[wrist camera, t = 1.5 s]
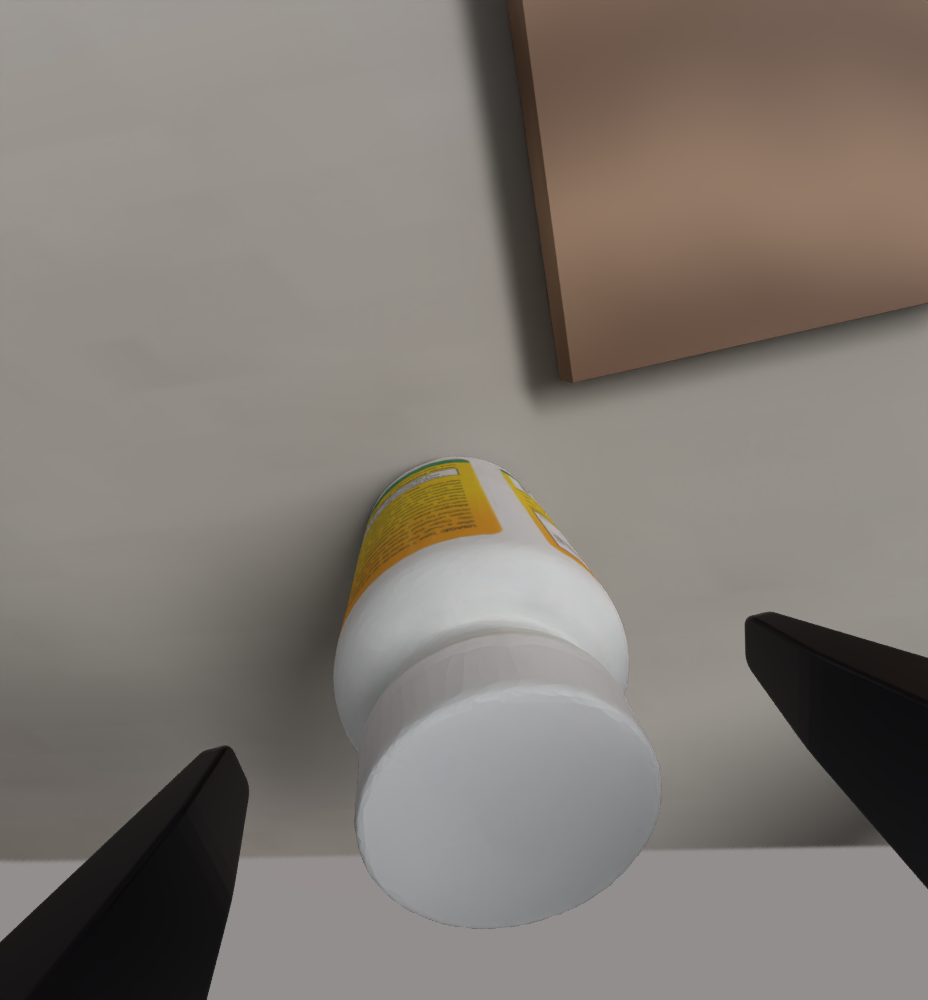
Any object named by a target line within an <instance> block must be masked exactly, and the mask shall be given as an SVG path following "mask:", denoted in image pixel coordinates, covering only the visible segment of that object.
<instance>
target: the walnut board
mask: <svg viewBox="0 0 928 1000" xmlns="http://www.w3.org/2000/svg"><path fill="white" fill-rule="evenodd" d="M507 7H508V14H509V21H510V28H511V35H512V43H513V50H514V57H515V64H516V71H517V78H518V85H519V92H520V99H521V107H522V114H523V121H524V128H525V135H526V142H527V149H528V156H529V163H530V171H531V178H532V185H533V192H534V199H535V206H536V213H537V220H538V228H539V235H540V242H541V249H542V256H543V263H544V270H545V277H546V284H547V292H548V299H549V306H550V313H551V320H552V327H553V334H554V341H555V348H556V356H557V363H558V370H559V377H560V379H561V380H564V381H568V382H572V383H574V382H579V381H583V380H587V379H592V378H596V377H601V376H605V375H610V374H614V373H618V372H623V371H627V370H632V369H636V368H641V367H645V366H649V365H654V364H658V363H663V362H667V361H672V360H676V359H680V358H685V357H689V356H694V355H698V354H703V353H707V352H711V351H716V350H720V349H725V348H729V347H734V346H738V345H743V344H747V343H751V342H756V341H760V340H765V339H769V338H774V337H778V336H782V335H787V334H791V333H796V332H800V331H805V330H809V329H813V328H818V327H822V326H827V325H831V324H836V323H840V322H844V321H849V320H853V319H858V318H862V317H867V316H871V315H875V314H880V313H884V312H889V311H893V310H898V309H902V308H907V307H911V306H915V305H920V304H924V303H928V0H507Z"/></svg>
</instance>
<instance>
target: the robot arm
mask: <svg viewBox="0 0 928 1000" xmlns="http://www.w3.org/2000/svg"><path fill="white" fill-rule="evenodd" d="M745 655H746V660H747V663H748V666H749V668H750V670H751V671H752V673H753V674H754V675H755V677H756V678H757V680H758V681H759V682H760V684H761V685H762V687H763V688H764V690H765V691H766V692H767V694H768V695H769V697H770V698H771V699H772V701H773V702H774V704H775V705H776V706H777V708H778V709H779V711H780V712H781V713H782V715H783V716H784V718H785V719H786V720H787V722H788V723H789V725H790V726H791V727H792V729H793V730H794V732H795V733H796V734H797V736H798V737H799V738H800V740H801V741H802V742H803V744H804V745H805V746H806V748H807V749H808V750H809V752H810V753H811V754H812V755H813V756H814V758H815V759H816V760H817V761H818V762H819V764H820V765H821V766H822V767H823V768H824V769H825V771H826V772H827V773H828V774H829V775H830V776H831V777H832V779H833V780H834V781H835V782H836V783H837V784H838V786H839V787H840V788H841V789H842V790H843V791H844V793H845V794H846V795H847V796H848V797H849V798H850V799H851V801H852V802H853V803H854V804H855V805H856V806H857V808H858V809H859V810H860V811H861V812H862V813H863V815H864V816H865V817H866V818H867V819H868V820H869V821H870V823H871V824H872V825H873V826H874V827H875V828H876V830H877V831H878V832H879V833H880V834H881V835H882V837H883V838H884V839H885V840H886V841H887V842H888V844H889V845H890V846H891V847H892V848H893V849H894V850H895V852H896V853H897V854H898V855H899V856H900V857H901V858H902V860H903V861H904V862H905V863H906V864H907V866H908V867H909V868H910V869H911V870H912V871H913V872H914V874H915V875H916V876H917V877H918V878H919V879H920V881H921V882H922V883H923V884H924V885H925V886H926V887H927V889H928V658H927V657H923V656H920V655H917V654H913V653H910V652H906V651H903V650H900V649H896V648H893V647H890V646H886V645H883V644H879V643H876V642H873V641H869V640H866V639H863V638H859V637H856V636H852V635H849V634H846V633H842V632H839V631H835V630H832V629H829V628H825V627H822V626H819V625H815V624H812V623H808V622H805V621H802V620H798V619H795V618H792V617H788V616H785V615H781V614H778V613H775V612H764V613H760V614H756V615H752V616H749V617H748V618H747V619H746V621H745ZM248 799H249V786H248V781H247V779H246V776H245V774H244V772H243V770H242V768H241V766H240V763H239V761H238V759H237V757H236V755H235V753H234V751H233V749H232V748H231V747H229V746H221V747H217V748H213V749H209V750H205V751H203V752H202V753H200V754H199V755H198V756H197V757H196V758H195V759H194V760H193V761H192V762H191V763H190V764H189V765H188V766H187V767H185V768H184V769H183V770H182V771H181V772H180V773H179V774H178V775H177V776H176V777H175V778H174V779H173V780H172V781H171V782H170V783H169V784H167V785H166V786H165V787H164V788H163V789H162V790H161V791H160V792H159V793H158V794H157V795H156V796H155V797H154V798H153V799H152V800H150V801H149V802H148V803H147V804H146V805H145V806H144V807H143V808H142V809H141V810H140V811H139V812H138V813H137V814H136V815H135V816H134V817H132V818H131V819H130V820H129V821H128V822H127V823H126V824H125V825H124V826H123V827H122V828H121V829H120V830H119V831H118V832H117V833H115V834H114V835H113V836H112V837H111V838H110V839H109V840H108V841H107V842H106V843H105V844H104V845H103V846H102V847H101V848H100V849H99V850H97V851H96V852H95V853H94V854H93V855H92V856H91V857H90V858H89V859H88V860H87V861H86V862H85V863H84V864H83V865H82V866H81V867H79V868H78V869H77V870H76V871H75V872H74V873H73V874H72V875H71V876H70V877H69V878H68V879H67V880H66V881H65V882H64V883H63V884H61V885H60V886H59V887H58V888H57V889H56V890H55V891H54V892H53V893H52V894H51V895H50V896H49V897H48V898H47V899H46V900H44V902H42V903H41V904H40V905H39V906H38V907H37V908H36V909H35V910H34V911H33V912H32V913H31V914H30V915H29V916H27V918H25V919H24V920H23V921H22V922H21V923H20V924H19V925H18V926H17V927H16V928H15V929H14V930H13V931H12V932H11V933H10V934H9V935H7V936H6V937H5V938H4V939H3V940H2V941H1V942H0V1000H207V996H208V992H209V988H210V984H211V980H212V976H213V973H214V969H215V965H216V961H217V957H218V953H219V949H220V945H221V941H222V938H223V934H224V930H225V925H226V922H227V918H228V914H229V909H230V905H231V901H232V896H233V891H234V886H235V880H236V874H237V868H238V862H239V855H240V849H241V843H242V836H243V830H244V824H245V818H246V811H247V805H248Z"/></svg>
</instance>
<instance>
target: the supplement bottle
mask: <svg viewBox="0 0 928 1000" xmlns="http://www.w3.org/2000/svg"><path fill="white" fill-rule="evenodd" d="M628 671H629V656H628V647H627V640H626V636H625V632H624V629H623V626H622V622H621V620H620V618H619V615H618V613H617V611H616V609H615V607H614V605H613V603H612V601H611V599H610V598H609V596H608V594H607V593H606V592H605V590H604V589H603V587H602V586H601V585H600V583H599V582H598V580H597V579H596V578H595V576H594V575H593V574H592V572H591V571H590V570H589V568H588V567H587V566H586V564H585V563H584V562H583V561H582V559H581V558H580V557H579V555H578V554H577V553H576V552H575V550H574V549H573V548H572V546H571V545H570V544H569V543H568V541H567V540H566V539H565V537H564V536H563V535H562V533H561V532H560V531H559V530H558V528H557V527H556V526H555V524H554V523H553V522H552V521H551V519H550V518H549V517H548V515H547V514H546V512H545V511H544V510H543V509H542V507H541V506H540V505H539V504H538V502H537V501H536V500H535V498H534V497H533V496H532V495H531V494H530V492H529V491H528V490H527V489H526V488H525V487H524V486H523V485H522V483H521V482H520V481H519V480H518V479H517V478H515V477H514V476H513V475H512V474H510V473H509V472H507V471H506V470H504V469H503V468H501V467H499V466H497V465H495V464H492V463H490V462H487V461H484V460H480V459H476V458H470V457H445V458H440V459H436V460H433V461H430V462H426V463H424V464H422V465H419V466H417V467H415V468H412V469H411V470H409V471H407V472H406V473H404V474H403V475H401V476H400V477H398V478H397V479H396V480H395V481H394V482H392V483H391V484H390V485H389V486H388V487H387V488H386V490H385V491H384V492H383V493H382V494H381V496H380V497H379V499H378V500H377V502H376V504H375V506H374V507H373V509H372V512H371V514H370V517H369V520H368V523H367V526H366V530H365V534H364V539H363V542H362V546H361V550H360V554H359V558H358V562H357V567H356V571H355V575H354V580H353V584H352V588H351V593H350V597H349V601H348V605H347V609H346V613H345V616H344V620H343V624H342V628H341V632H340V636H339V640H338V645H337V650H336V655H335V662H334V672H333V684H334V695H335V700H336V705H337V710H338V714H339V717H340V720H341V722H342V725H343V727H344V730H345V732H346V734H347V736H348V738H349V740H350V742H351V743H352V745H353V746H354V748H355V749H356V751H357V752H358V754H359V758H358V770H359V771H358V783H357V793H356V805H355V820H354V823H355V831H356V836H357V841H358V847H359V850H360V853H361V856H362V859H363V862H364V864H365V866H366V868H367V870H368V872H369V874H370V875H371V877H372V878H373V880H374V881H375V882H376V883H377V884H378V885H379V887H380V888H381V889H382V890H383V891H384V892H385V893H386V894H387V895H388V896H389V897H391V898H392V899H393V900H394V901H396V902H397V903H398V904H400V905H401V906H403V907H404V908H406V909H407V910H409V911H411V912H413V913H416V914H418V915H420V916H423V917H425V918H427V919H429V920H432V921H435V922H439V923H442V924H446V925H450V926H456V927H466V928H472V929H493V928H502V927H515V926H520V925H524V924H530V923H534V922H537V921H541V920H544V919H546V918H549V917H552V916H554V915H558V914H561V913H563V912H565V911H567V910H570V909H572V908H575V907H577V906H579V905H581V904H583V903H585V902H586V901H588V900H590V899H591V898H593V897H594V896H595V895H597V894H598V893H600V892H601V891H603V890H604V889H606V888H607V887H609V886H610V885H611V884H612V883H613V882H614V881H615V880H616V879H617V878H618V877H619V876H620V875H621V874H622V873H623V872H624V871H625V870H626V869H627V868H628V867H629V866H630V864H631V863H632V862H633V861H634V859H635V858H636V857H637V856H638V855H639V853H640V852H641V851H642V849H643V848H644V846H645V845H646V843H647V841H648V839H649V837H650V836H651V834H652V831H653V829H654V826H655V823H656V820H657V816H658V812H659V809H660V805H661V791H662V786H661V777H660V768H659V764H658V761H657V758H656V755H655V753H654V750H653V747H652V745H651V743H650V741H649V739H648V737H647V736H646V734H645V732H644V730H643V729H642V727H641V725H640V724H639V722H638V720H637V719H636V717H635V715H634V713H633V711H632V710H631V708H630V706H629V704H628V702H627V700H626V697H625V693H626V689H627V683H628Z"/></svg>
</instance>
